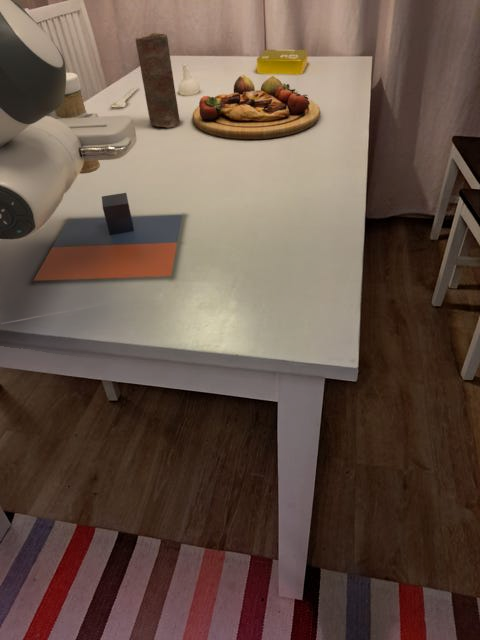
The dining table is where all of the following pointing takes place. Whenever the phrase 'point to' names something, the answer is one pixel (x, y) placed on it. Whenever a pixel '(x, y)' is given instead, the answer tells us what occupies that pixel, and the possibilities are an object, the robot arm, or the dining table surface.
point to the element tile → (282, 62)
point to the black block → (117, 213)
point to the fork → (124, 99)
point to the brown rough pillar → (158, 80)
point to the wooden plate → (256, 111)
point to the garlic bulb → (188, 84)
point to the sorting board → (113, 250)
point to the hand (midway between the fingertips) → (74, 120)
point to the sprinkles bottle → (75, 112)
